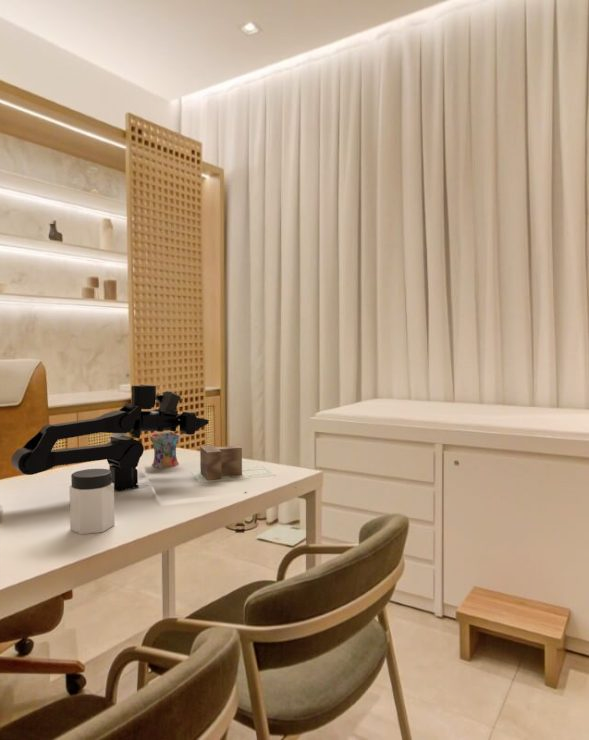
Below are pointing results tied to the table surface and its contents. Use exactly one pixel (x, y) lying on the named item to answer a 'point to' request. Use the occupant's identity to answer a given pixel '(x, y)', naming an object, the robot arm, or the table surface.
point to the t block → (220, 461)
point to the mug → (165, 449)
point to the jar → (91, 501)
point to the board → (203, 479)
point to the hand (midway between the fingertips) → (200, 420)
